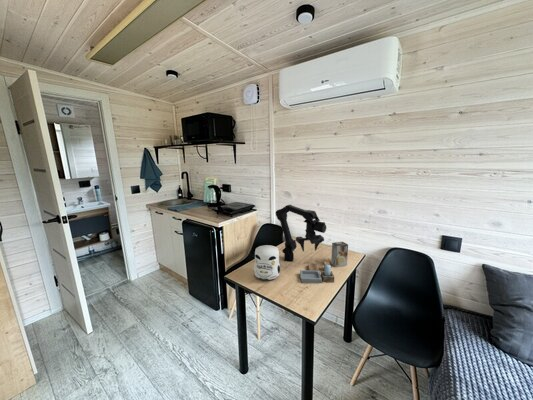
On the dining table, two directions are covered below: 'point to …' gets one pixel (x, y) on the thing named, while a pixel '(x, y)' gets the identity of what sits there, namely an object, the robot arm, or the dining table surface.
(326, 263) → the light wooden block
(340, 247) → the coffee box
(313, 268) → the tan cardboard box
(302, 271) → the tray
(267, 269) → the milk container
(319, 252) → the dining table surface
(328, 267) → the dowel
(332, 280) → the socket block
